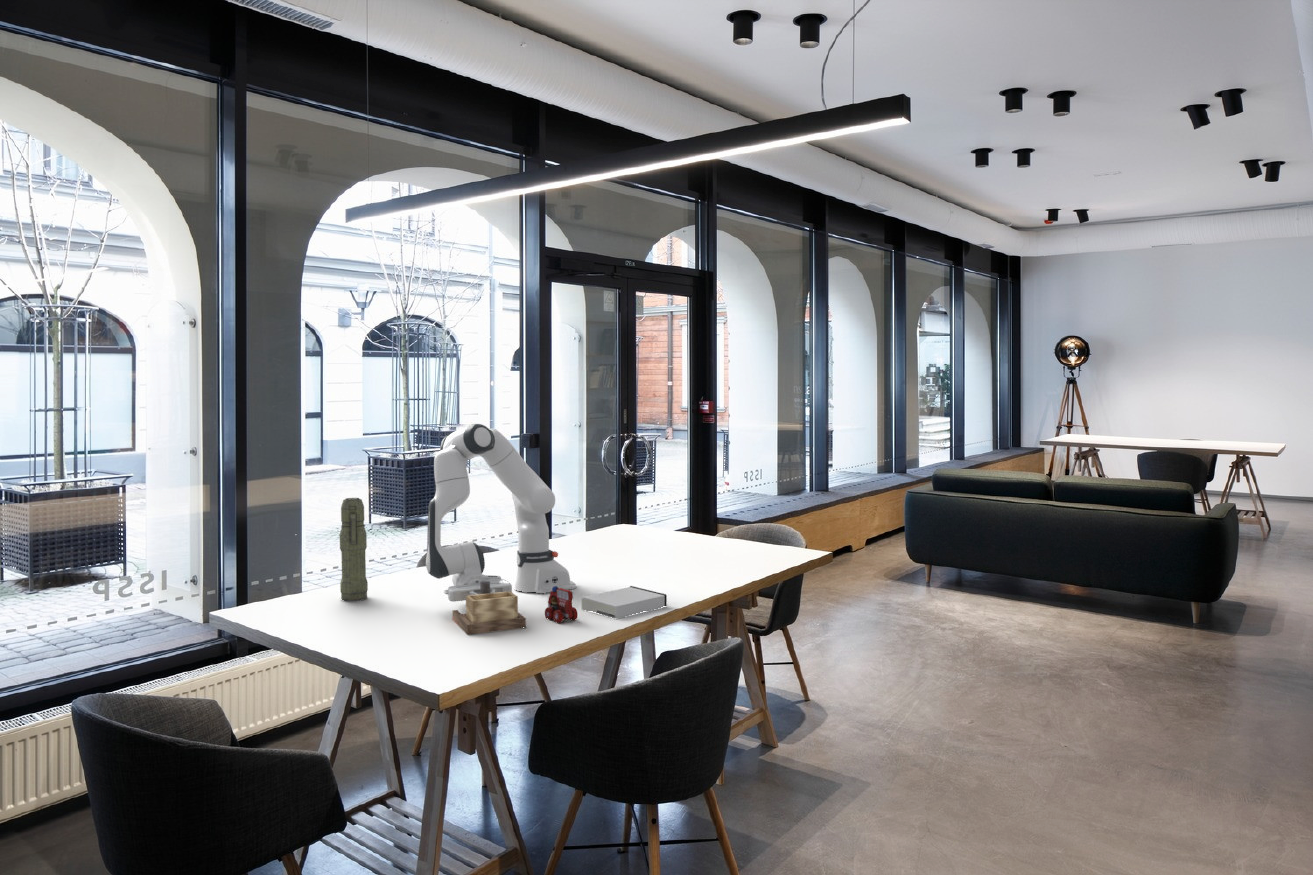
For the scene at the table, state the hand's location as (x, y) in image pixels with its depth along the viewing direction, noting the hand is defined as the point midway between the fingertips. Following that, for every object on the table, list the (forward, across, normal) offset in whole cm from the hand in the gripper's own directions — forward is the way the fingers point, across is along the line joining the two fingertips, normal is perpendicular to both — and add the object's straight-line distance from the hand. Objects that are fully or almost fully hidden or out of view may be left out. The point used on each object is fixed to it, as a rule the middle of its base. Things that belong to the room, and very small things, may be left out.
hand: (486, 596), depth 281 cm
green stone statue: (-50, -33, +8) cm, 61 cm away
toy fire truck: (+8, +22, +8) cm, 25 cm away
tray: (+3, 0, +8) cm, 8 cm away
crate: (+4, 0, +6) cm, 8 cm away
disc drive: (+4, +46, +9) cm, 47 cm away
